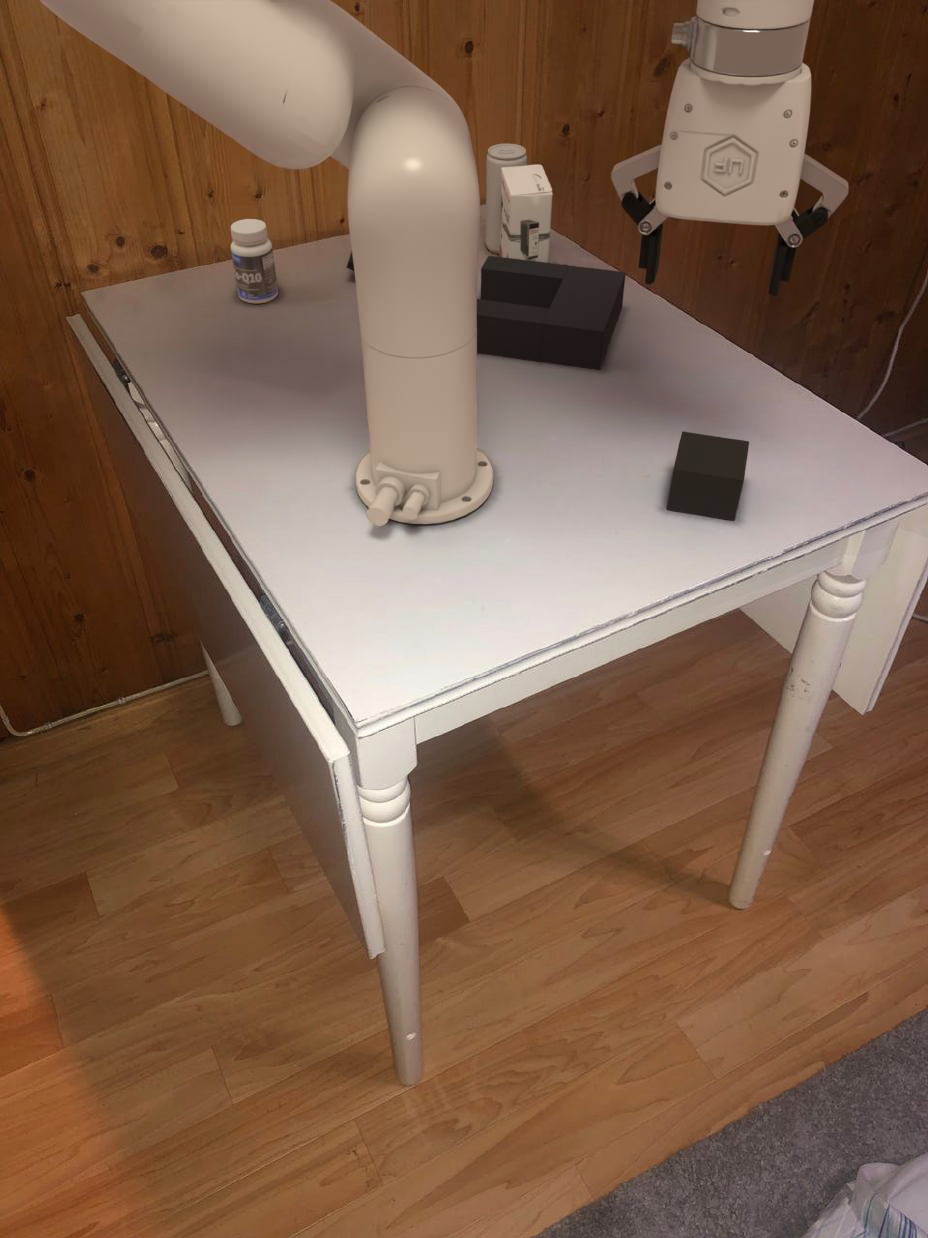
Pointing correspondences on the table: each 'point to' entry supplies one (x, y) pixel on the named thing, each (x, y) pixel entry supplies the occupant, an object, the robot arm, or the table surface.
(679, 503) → the black block
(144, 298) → the table surface
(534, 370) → the table surface
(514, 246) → the ink box
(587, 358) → the base pad
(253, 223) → the pill bottle
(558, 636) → the table surface
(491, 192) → the beverage can
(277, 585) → the table surface
